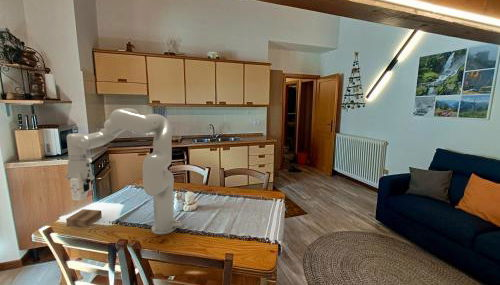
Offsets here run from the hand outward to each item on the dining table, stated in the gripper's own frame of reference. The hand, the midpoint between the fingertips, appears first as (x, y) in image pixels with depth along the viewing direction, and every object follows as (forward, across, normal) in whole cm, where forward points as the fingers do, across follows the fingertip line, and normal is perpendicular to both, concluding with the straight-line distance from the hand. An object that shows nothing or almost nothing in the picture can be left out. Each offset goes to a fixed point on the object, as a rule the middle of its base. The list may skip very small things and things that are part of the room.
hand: (81, 190), depth 124 cm
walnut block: (+19, 0, 0) cm, 19 cm away
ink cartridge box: (+4, 0, 0) cm, 4 cm away
